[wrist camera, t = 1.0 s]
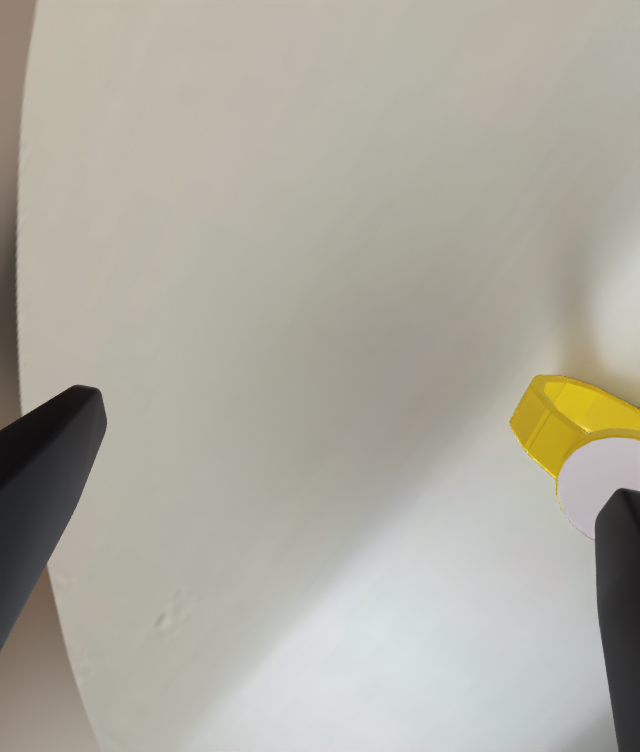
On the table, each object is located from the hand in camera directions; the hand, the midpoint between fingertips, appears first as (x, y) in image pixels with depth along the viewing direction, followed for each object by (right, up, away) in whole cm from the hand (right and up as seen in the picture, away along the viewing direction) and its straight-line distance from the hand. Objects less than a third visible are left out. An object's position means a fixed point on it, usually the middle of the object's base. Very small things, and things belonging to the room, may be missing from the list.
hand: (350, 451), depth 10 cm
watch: (+9, 0, +9) cm, 13 cm away
